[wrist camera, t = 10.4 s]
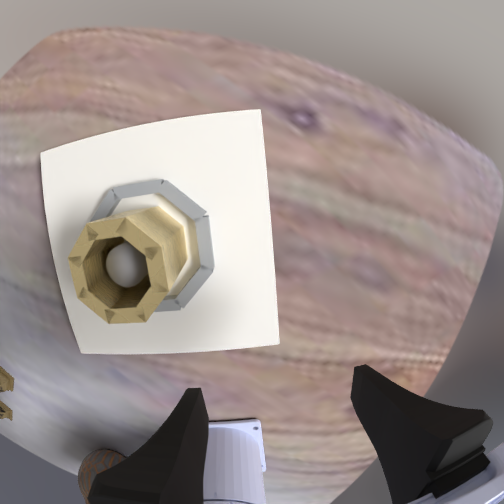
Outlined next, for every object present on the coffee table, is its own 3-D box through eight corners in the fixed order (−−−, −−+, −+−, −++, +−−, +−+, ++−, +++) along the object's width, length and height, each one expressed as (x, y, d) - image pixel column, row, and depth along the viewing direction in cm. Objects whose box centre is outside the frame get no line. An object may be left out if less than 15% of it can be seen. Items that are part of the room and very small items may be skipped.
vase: (94, 433, 24) (70, 490, 15) (149, 460, 25) (136, 519, 17) (84, 455, 25) (64, 504, 16) (132, 479, 26) (120, 530, 18)
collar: (191, 279, 19) (175, 320, 13) (122, 286, 19) (85, 324, 13) (181, 203, 18) (156, 212, 12) (109, 213, 17) (61, 227, 12)
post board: (276, 334, 22) (290, 381, 16) (88, 344, 21) (57, 384, 15) (258, 114, 18) (269, 87, 12) (51, 153, 17) (2, 149, 12)
